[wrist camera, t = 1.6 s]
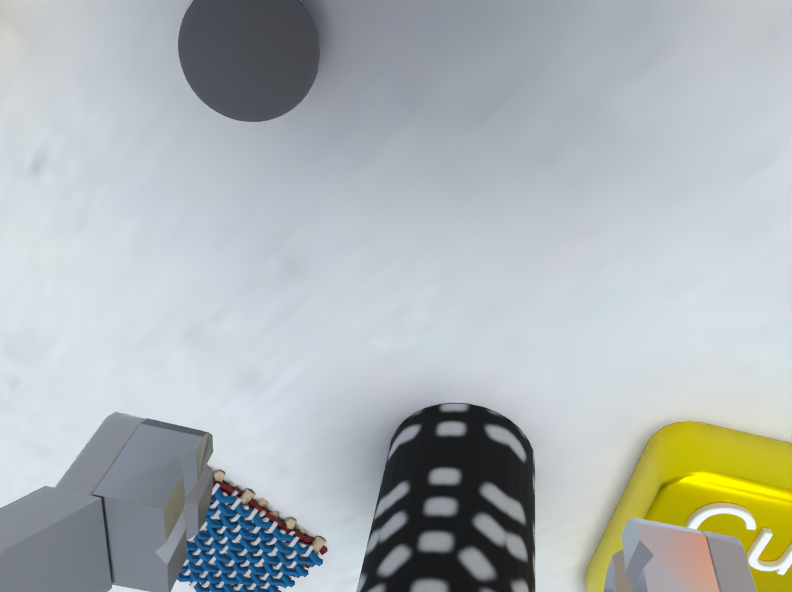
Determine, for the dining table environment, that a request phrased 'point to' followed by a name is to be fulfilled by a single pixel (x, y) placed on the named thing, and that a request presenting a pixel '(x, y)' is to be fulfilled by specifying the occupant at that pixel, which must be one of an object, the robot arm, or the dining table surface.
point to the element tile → (711, 497)
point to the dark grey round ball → (249, 56)
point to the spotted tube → (454, 506)
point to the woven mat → (246, 546)
